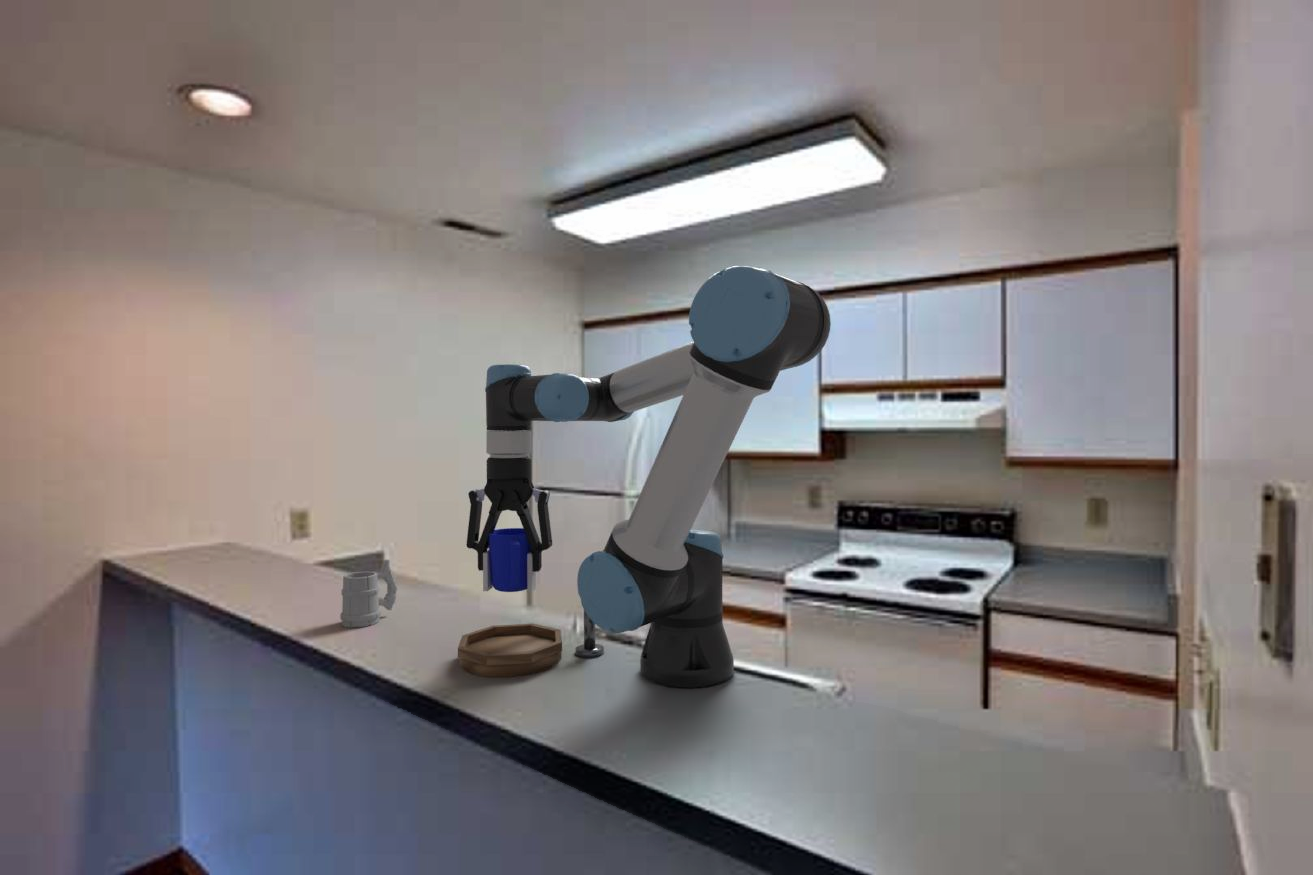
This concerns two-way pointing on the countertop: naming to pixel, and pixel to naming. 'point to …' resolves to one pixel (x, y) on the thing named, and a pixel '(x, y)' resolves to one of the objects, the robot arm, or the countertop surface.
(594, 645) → the stand rod
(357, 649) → the countertop surface
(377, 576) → the mug
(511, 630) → the octagonal wooden tray
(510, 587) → the mug
